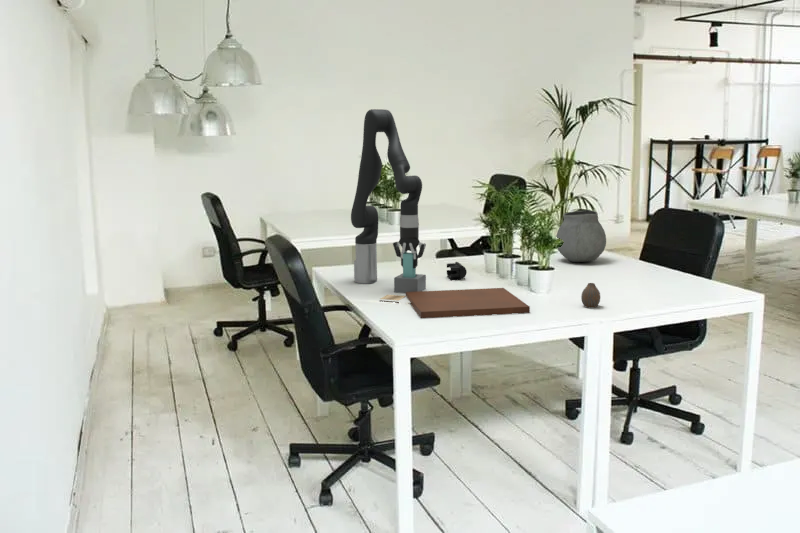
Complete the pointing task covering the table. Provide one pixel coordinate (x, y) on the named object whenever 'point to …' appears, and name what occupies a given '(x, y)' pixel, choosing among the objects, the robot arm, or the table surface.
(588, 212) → the ceramic pot
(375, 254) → the robot arm
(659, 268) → the table surface
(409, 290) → the grey square socket block
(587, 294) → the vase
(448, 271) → the end cap
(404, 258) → the plug
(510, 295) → the flat brown board
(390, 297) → the mat
